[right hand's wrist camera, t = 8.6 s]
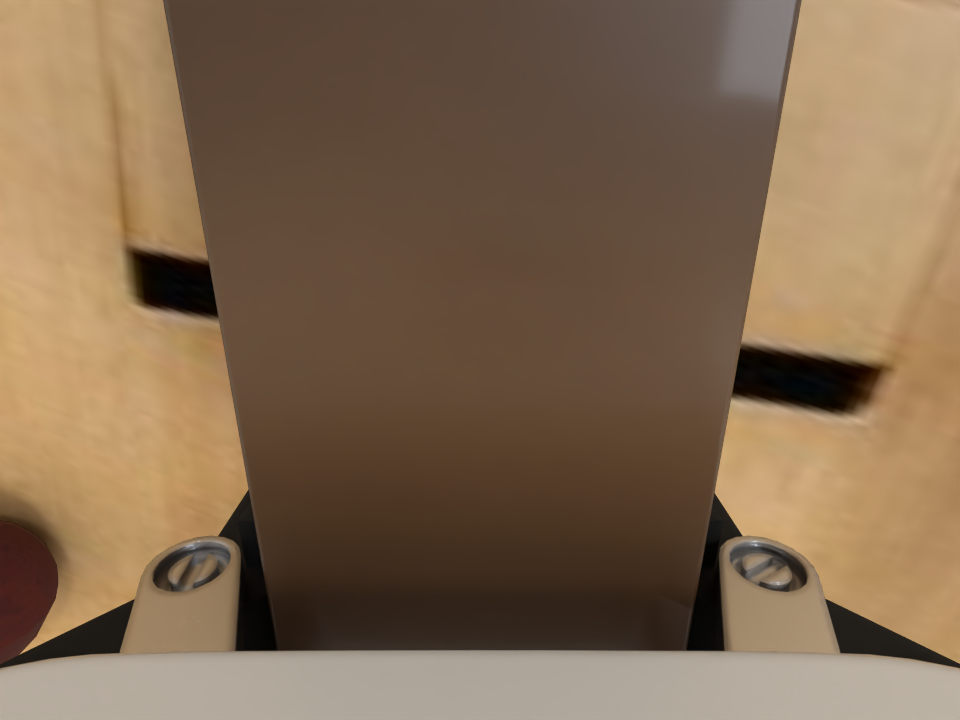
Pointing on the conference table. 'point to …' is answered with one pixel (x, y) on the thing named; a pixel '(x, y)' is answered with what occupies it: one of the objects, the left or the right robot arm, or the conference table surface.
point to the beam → (482, 301)
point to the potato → (23, 588)
